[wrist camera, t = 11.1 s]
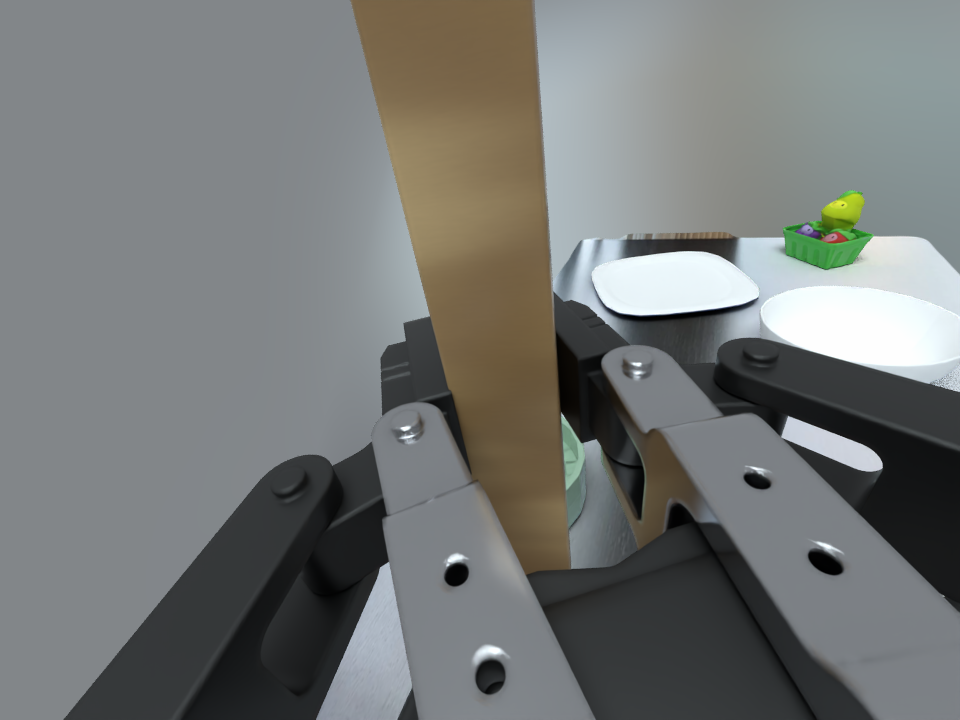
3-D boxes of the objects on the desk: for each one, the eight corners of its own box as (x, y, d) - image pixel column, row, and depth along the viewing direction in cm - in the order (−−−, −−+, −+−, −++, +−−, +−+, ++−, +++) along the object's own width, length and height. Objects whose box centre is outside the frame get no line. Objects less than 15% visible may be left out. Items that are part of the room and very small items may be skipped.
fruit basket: (773, 254, 80) (788, 193, 74) (816, 244, 80) (834, 183, 74) (824, 274, 70) (846, 206, 64) (872, 263, 70) (898, 194, 64)
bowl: (722, 342, 59) (731, 296, 55) (861, 325, 57) (881, 277, 53) (803, 431, 43) (823, 376, 40) (997, 413, 41) (1039, 353, 38)
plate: (585, 270, 88) (584, 262, 87) (710, 254, 84) (711, 246, 83) (609, 328, 67) (609, 319, 66) (777, 310, 63) (780, 300, 62)
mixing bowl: (448, 548, 39) (434, 509, 36) (468, 446, 50) (459, 408, 46) (592, 552, 36) (591, 509, 33) (580, 443, 47) (578, 403, 44)
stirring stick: (520, 678, 15) (296, -202, 4) (523, 618, 16) (371, -117, 5) (578, 684, 14) (514, -280, 3) (574, 621, 16) (523, -162, 5)
